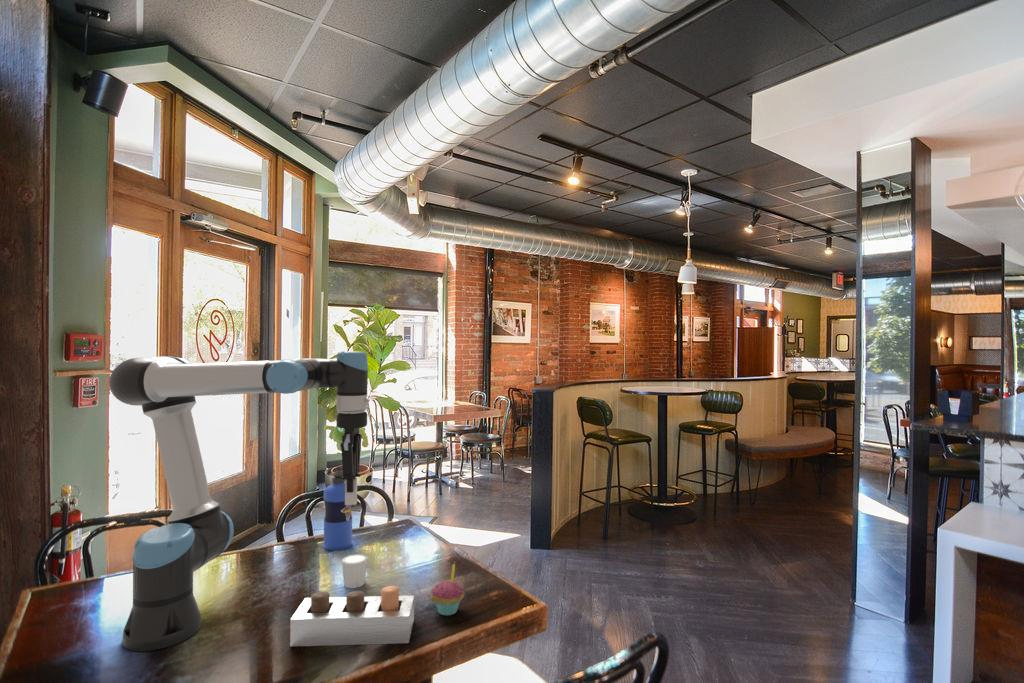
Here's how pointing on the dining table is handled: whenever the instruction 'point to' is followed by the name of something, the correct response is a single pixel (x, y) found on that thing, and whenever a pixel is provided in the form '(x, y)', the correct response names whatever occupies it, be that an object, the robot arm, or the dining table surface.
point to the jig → (352, 623)
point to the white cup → (354, 570)
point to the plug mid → (355, 601)
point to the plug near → (320, 602)
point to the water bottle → (337, 515)
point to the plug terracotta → (390, 598)
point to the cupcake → (448, 595)
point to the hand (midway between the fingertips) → (351, 503)
